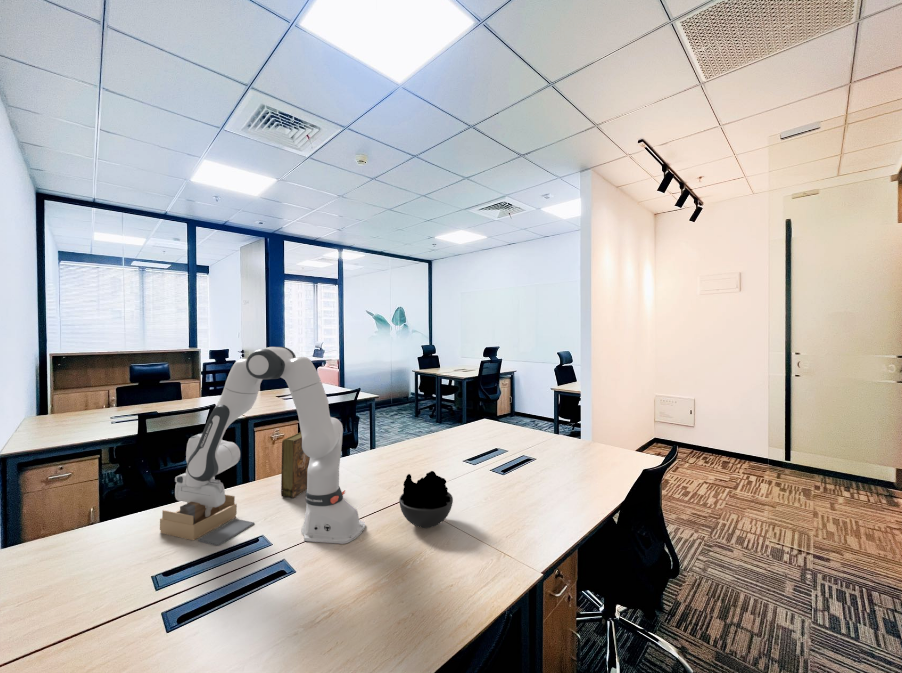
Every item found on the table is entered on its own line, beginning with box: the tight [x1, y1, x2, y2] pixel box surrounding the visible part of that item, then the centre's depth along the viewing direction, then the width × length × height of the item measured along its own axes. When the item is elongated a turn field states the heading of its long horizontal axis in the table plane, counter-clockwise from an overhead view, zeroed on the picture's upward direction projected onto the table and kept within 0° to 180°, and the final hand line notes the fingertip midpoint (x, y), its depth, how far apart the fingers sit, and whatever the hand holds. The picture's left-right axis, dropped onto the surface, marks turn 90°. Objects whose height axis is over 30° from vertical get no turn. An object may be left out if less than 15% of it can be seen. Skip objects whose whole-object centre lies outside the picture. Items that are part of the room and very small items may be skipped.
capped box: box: [179, 502, 219, 525], centre depth 136 cm, size 4×12×9 cm, turn 164°
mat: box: [197, 518, 255, 547], centre depth 131 cm, size 9×15×1 cm, turn 164°
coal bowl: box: [398, 470, 454, 529], centre depth 139 cm, size 20×20×19 cm
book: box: [280, 431, 310, 499], centre depth 167 cm, size 16×6×25 cm, turn 168°
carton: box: [159, 494, 238, 541], centre depth 136 cm, size 16×17×8 cm
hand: (200, 514), depth 136 cm, fingers open, 5 cm apart
